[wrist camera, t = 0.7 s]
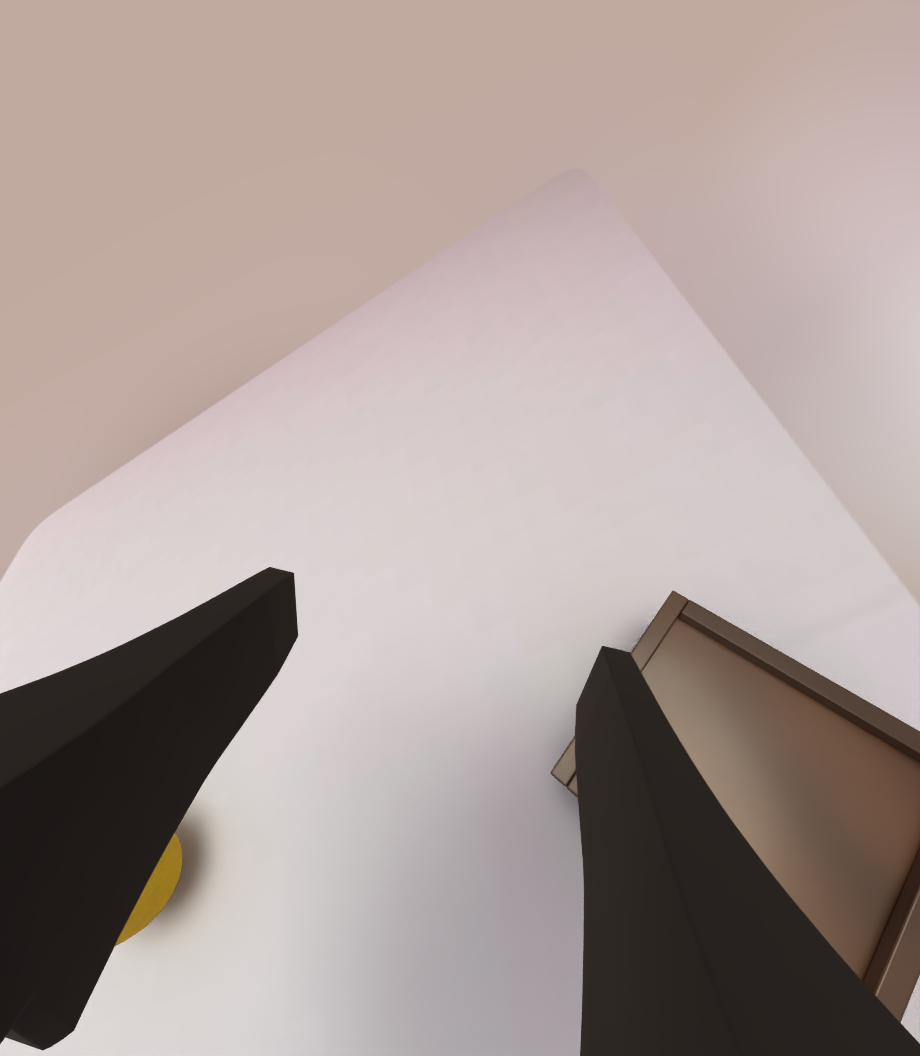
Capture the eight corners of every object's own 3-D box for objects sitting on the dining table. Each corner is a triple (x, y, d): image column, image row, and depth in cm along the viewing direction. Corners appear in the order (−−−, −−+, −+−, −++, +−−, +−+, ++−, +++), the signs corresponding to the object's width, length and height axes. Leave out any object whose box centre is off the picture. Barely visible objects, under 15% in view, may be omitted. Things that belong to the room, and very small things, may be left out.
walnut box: (802, 989, 19) (884, 1067, 14) (555, 773, 24) (549, 773, 19) (900, 776, 21) (1000, 776, 16) (655, 624, 26) (673, 589, 21)
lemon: (137, 953, 25) (-33, 1022, 18) (120, 848, 27) (-33, 872, 20) (226, 885, 25) (93, 926, 18) (200, 789, 28) (77, 793, 21)
